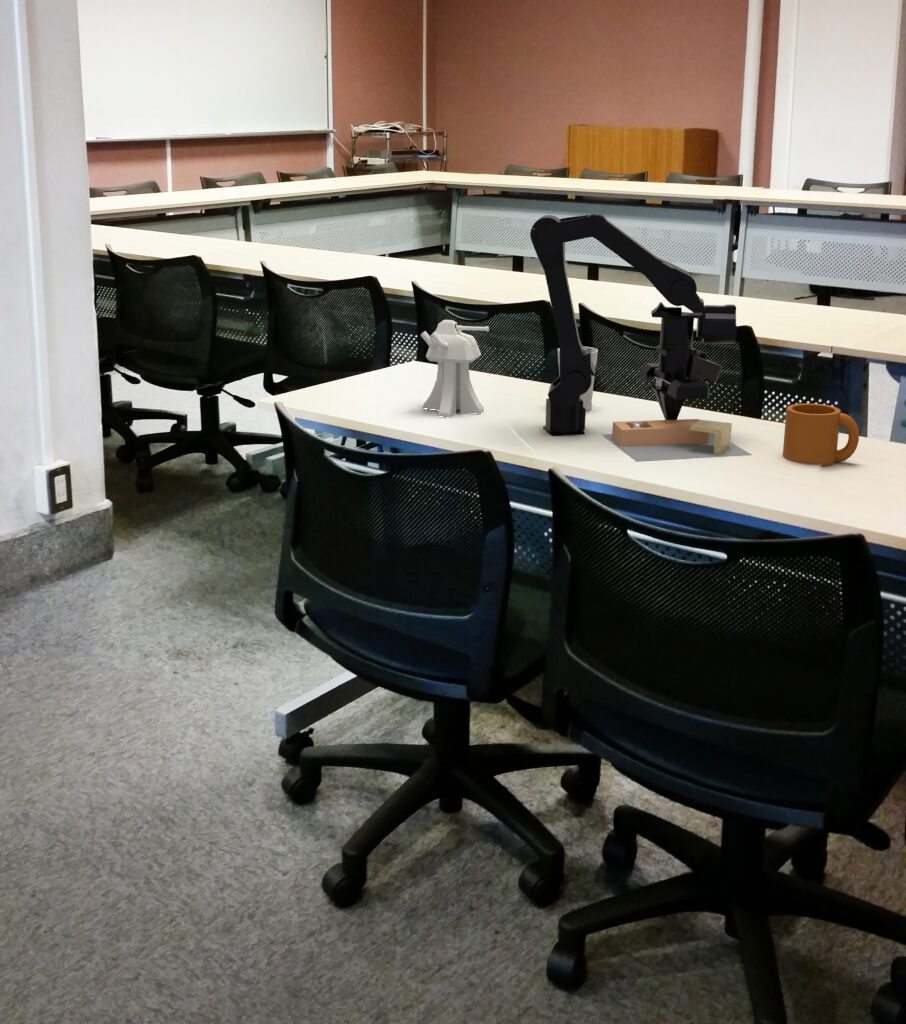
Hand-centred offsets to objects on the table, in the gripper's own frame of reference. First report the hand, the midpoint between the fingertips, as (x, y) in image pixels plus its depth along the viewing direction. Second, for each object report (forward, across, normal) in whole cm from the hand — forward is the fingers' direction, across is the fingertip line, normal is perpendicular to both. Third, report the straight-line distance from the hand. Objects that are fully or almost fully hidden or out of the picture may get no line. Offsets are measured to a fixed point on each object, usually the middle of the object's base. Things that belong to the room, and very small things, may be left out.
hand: (670, 426), depth 219 cm
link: (+1, -4, +4) cm, 5 cm away
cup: (+2, +24, +10) cm, 27 cm away
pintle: (+1, -2, +8) cm, 8 cm away
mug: (+2, -21, -18) cm, 28 cm away
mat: (+2, -7, +2) cm, 7 cm away
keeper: (+1, -11, -2) cm, 11 cm away
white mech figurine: (+2, +28, +34) cm, 44 cm away
